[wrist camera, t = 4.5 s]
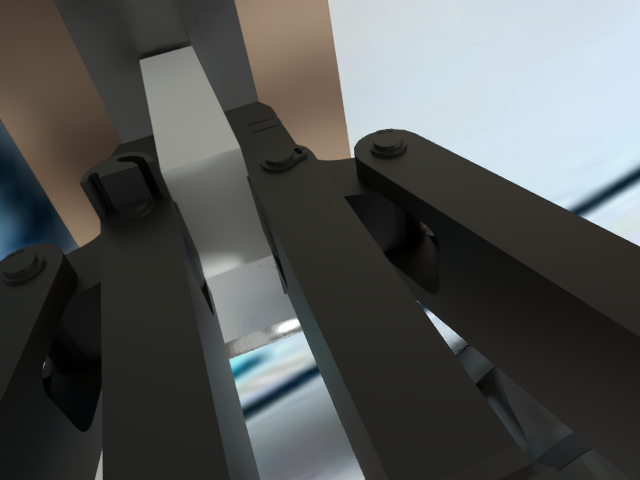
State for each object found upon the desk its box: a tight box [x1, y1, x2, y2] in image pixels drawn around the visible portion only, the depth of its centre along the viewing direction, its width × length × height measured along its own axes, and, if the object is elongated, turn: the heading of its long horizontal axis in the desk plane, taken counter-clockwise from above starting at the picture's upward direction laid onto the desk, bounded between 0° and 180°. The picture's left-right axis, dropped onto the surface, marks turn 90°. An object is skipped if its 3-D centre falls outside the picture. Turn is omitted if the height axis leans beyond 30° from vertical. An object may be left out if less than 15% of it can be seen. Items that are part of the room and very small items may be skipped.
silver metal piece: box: [53, 0, 303, 359], centre depth 20 cm, size 18×4×2 cm, turn 10°
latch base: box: [0, 0, 351, 248], centre depth 20 cm, size 22×12×6 cm, turn 10°
